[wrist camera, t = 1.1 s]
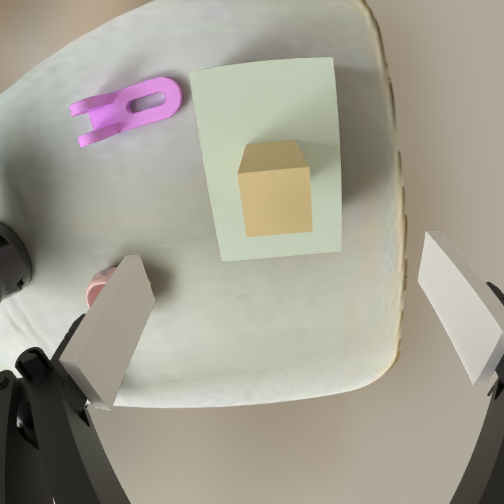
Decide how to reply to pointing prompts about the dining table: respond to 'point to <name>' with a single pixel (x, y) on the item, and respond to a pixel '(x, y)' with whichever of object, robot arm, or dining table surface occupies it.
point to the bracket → (126, 108)
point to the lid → (271, 156)
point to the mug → (98, 284)
